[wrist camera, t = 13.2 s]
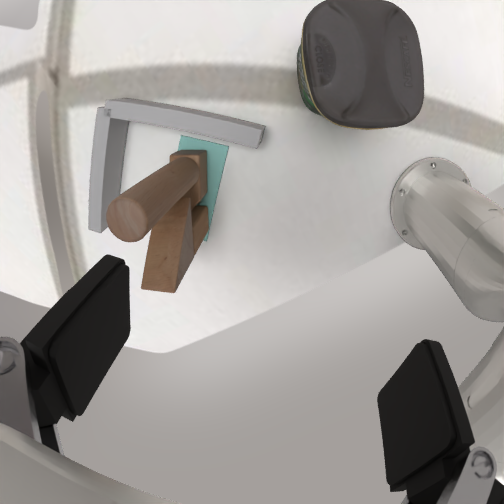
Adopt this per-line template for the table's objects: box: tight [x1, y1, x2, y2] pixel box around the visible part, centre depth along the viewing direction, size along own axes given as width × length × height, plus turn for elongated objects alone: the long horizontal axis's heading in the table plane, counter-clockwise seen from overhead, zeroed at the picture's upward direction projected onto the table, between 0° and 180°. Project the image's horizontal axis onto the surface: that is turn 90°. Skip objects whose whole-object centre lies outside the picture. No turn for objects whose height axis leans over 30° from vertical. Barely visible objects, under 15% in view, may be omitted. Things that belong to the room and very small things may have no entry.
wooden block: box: [106, 150, 209, 293], centre depth 30 cm, size 4×11×18 cm, turn 179°
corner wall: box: [88, 98, 265, 233], centre depth 35 cm, size 19×17×5 cm
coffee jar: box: [297, 0, 424, 130], centre depth 22 cm, size 10×8×19 cm
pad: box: [178, 135, 229, 241], centre depth 38 cm, size 6×13×1 cm, turn 165°
